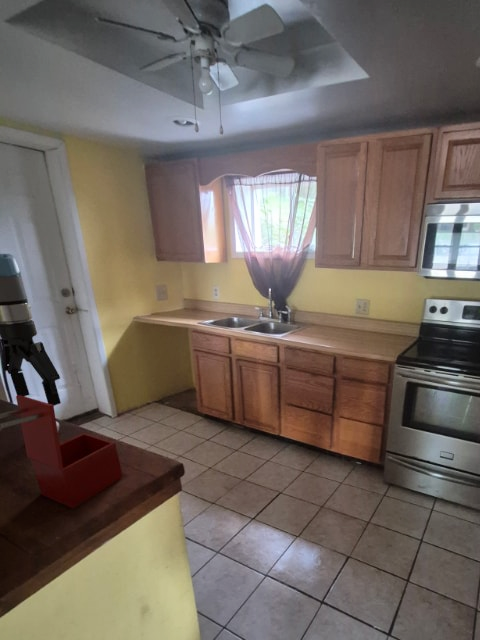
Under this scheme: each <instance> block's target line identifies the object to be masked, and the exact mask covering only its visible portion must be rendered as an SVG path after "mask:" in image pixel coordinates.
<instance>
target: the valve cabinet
mask: <svg viewBox="0 0 480 640" xmlns="http://www.w3.org/2000/svg"><path fill="white" fill-rule="evenodd" d="M59 444H60V451H61V457H62V464H63V468H62V469H60V470H59V469H57V468H54V467H51V466H49V465H46V464H44V463H41V462H39V461H36V460H34V459H31V458H29V459H30V463H31V466H32V468H33V472H34V475H35V478H36V481H37V484H38V487H39V490H40V493H41V495H43V496H45V497H47V498H49V499H51V500H53V501H56V502H58V503H60V504H61V505H64V506H66V507H69V508H71V509H75V508H76V507H78V506H79V505H81V504H82V503H84V502H85V501H87V500H89V499H91V497H92V498H93V496H95V495H97V494H98V493H100V492H101V491H103V490H104V489H106V488H108V487H110V485H112V484H114V483H116V482H117V481H119V480H120V479H122V478H123V477H124V476H123V472H122V468H121V464H120V458H119V453H118V448H117V444H116V442H115V441H112V440H108V439H105V438H102V437H98V436H95V435H93V434H89V433H86V432H83V433H81V434H79V435H77V436H75V437H72V438H70V439H68V440H66V441H64V442H61V443H59Z"/></svg>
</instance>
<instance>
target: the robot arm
mask: <svg viewBox="0 0 480 640" xmlns="http://www.w3.org/2000/svg"><path fill="white" fill-rule="evenodd" d="M32 318H33V314H32V311H31V305H30V304H29V300H28V296H27V292H26V289H25V285H24V281H23V277H22V272H21V270H20V268H19V266H18V262H17V259H16V256H14V255H12V253H11V254H10V253H0V345H1V354H2V355H1V358H2V359H1V360H2V370H3V371H4V372H7V374H8V375H10V379H11V382H12V384H13V387H14V391H15V393H16V396H19V395H21V396H25V397H28V396H30V395H31V393H30V392H29V387H28V385H27V382H26V378H25V375H24V372H23V371H24V370H23V368H22V365H23V362H24V361H25V362H27V363H29V364H30V365H31V367H32V368H33V369H34V370H35V372H36V373H37V374H38V376H39V377H40V378H41V380H42V382H41V385H42V389H43V391H44V394H45V397H46V403H48V404H52V405H54V407H55V406H57V405H60V404H62V402H61V398H60V394H59V391H58V387H57V383H56V381H58V380H60V379H61V376H60V374H59V372H58V371H57V369H56V367H55V365H54V364H53V362H52V360H51V358H50V357H49V355H48V353H47V351H46V349H45V345H44V343H43V342H42V341H39V342H34V337H36V336H37V334H38V331H37V328H36V327H37V326H36V325H35V321H34V320H32Z"/></svg>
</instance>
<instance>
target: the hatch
mask: <svg viewBox="0 0 480 640" xmlns="http://www.w3.org/2000/svg"><path fill="white" fill-rule="evenodd" d="M15 399H16V404H17V409H14V410H11V411H10V410H9V411H7V412H3V413H2V412H1V413H0V420H2V419H5V418H9V417H12V416H16V415H18V416H19V418H16V419H13V420H10V421H9V420H8V421H6V422H2V423H0V432H1V431H2V429H5V428H9V427H12V426H15V425H19V424H20V425H21V430H22V431H21V432H22V436H23V442H24V447H25V452H26V457H27V458H29V459H30V458H31V459H34V460H36V461H39V462H41V463H44V464H46V465H49V466H51V467H54V468H57V469H59V470H60V469H62V468H63V464H62V457H61V451H60V444H61V443H60V438H59V431H57V425H56V422H57V420H56V419H57V418H56V412H55V406H54V405H52V404H48V402H45V401H41V400H38V399H35V398H31V397H28V396H21V395H19V396H17V395H15Z"/></svg>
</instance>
